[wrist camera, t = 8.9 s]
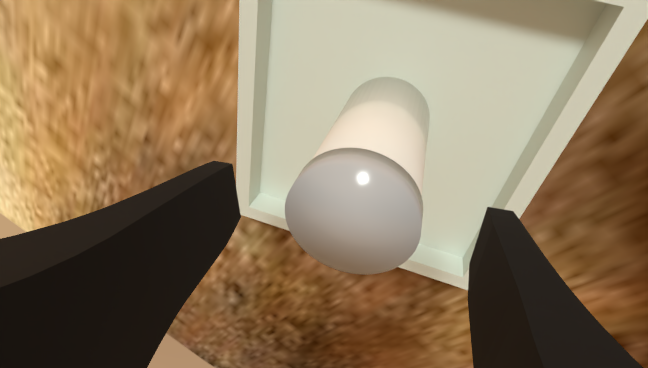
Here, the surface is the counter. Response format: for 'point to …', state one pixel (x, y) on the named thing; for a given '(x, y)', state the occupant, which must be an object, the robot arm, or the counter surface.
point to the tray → (427, 97)
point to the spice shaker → (365, 182)
